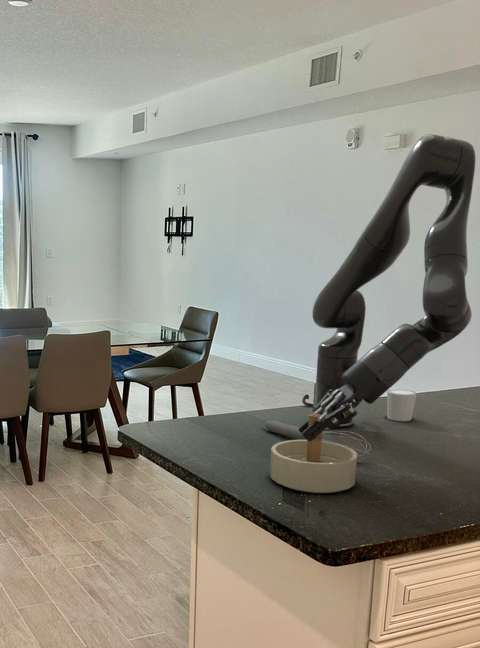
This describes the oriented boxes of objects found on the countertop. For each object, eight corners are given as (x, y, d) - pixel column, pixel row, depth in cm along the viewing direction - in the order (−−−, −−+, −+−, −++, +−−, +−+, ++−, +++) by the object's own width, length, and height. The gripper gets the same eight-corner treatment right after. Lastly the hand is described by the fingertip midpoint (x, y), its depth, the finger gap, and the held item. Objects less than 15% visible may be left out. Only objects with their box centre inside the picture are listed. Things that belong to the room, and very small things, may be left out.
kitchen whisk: (273, 426, 174) (274, 402, 173) (376, 467, 144) (379, 437, 142) (252, 429, 172) (254, 404, 170) (353, 471, 142) (356, 441, 140)
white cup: (418, 421, 177) (421, 394, 176) (391, 422, 177) (394, 394, 176) (406, 414, 184) (409, 388, 182) (380, 415, 184) (382, 389, 182)
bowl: (256, 471, 142) (257, 442, 141) (326, 465, 145) (328, 437, 144) (294, 498, 127) (296, 467, 126) (372, 491, 130) (374, 460, 129)
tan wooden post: (296, 469, 137) (299, 412, 135) (316, 467, 138) (320, 411, 136) (307, 476, 133) (311, 418, 131) (328, 474, 134) (333, 416, 131)
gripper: (350, 352, 137) (283, 413, 141) (373, 365, 123) (297, 432, 127) (376, 379, 137) (308, 439, 141) (401, 395, 124) (325, 460, 128)
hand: (303, 435), depth 134 cm, fingers closed on tan wooden post, 2 cm apart
